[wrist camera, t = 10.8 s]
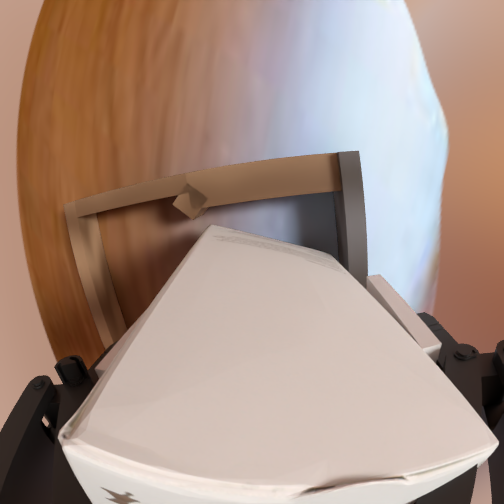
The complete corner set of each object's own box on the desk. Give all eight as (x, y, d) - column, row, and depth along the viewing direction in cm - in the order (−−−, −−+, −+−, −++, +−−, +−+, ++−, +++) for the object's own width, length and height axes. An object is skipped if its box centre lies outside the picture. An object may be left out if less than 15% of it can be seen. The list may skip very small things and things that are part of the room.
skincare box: (189, 309, 19) (100, 533, 4) (209, 214, 17) (22, 419, 2) (307, 336, 19) (362, 555, 4) (339, 249, 17) (514, 448, 2)
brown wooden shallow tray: (82, 200, 19) (59, 205, 17) (346, 154, 17) (358, 150, 14) (130, 365, 23) (117, 384, 20) (354, 354, 21) (362, 377, 18)
